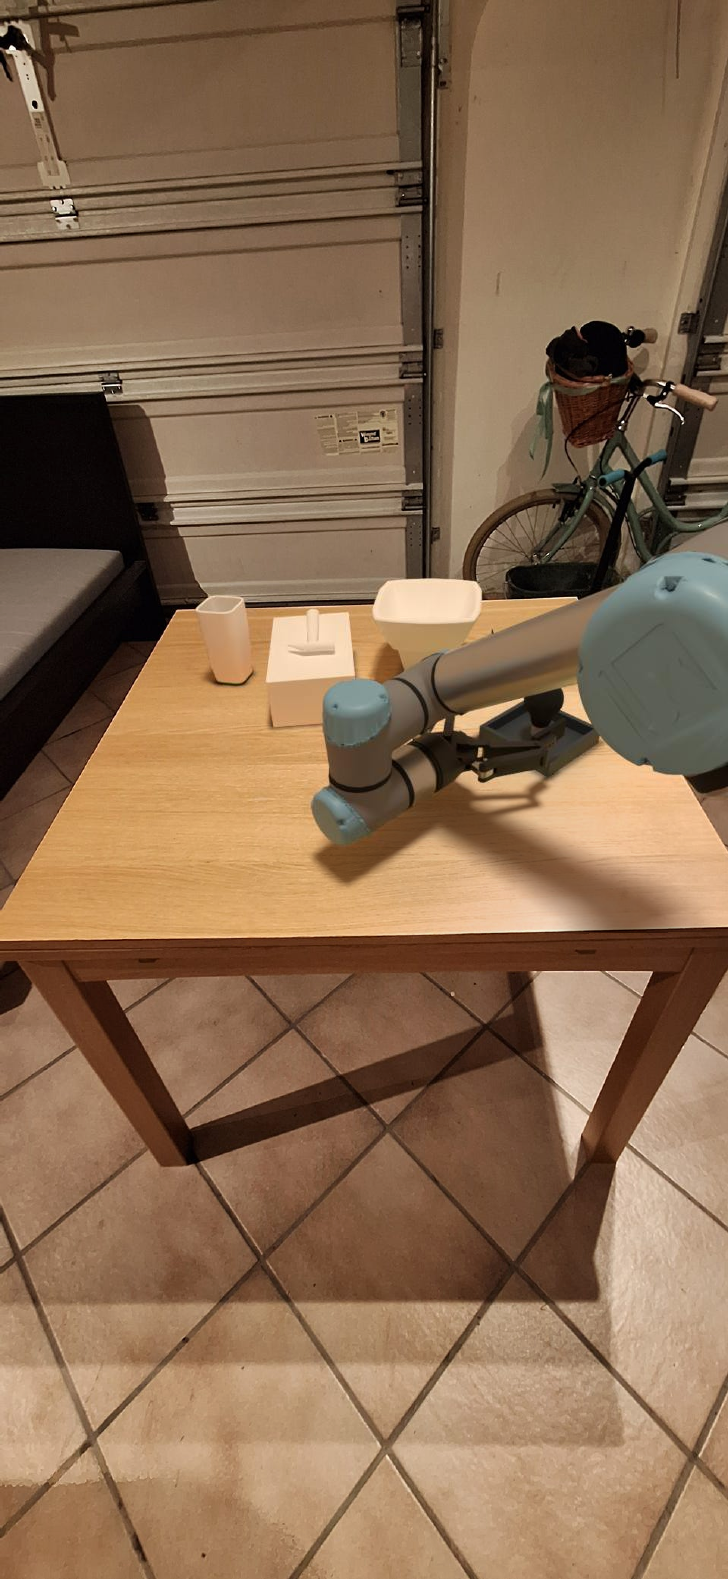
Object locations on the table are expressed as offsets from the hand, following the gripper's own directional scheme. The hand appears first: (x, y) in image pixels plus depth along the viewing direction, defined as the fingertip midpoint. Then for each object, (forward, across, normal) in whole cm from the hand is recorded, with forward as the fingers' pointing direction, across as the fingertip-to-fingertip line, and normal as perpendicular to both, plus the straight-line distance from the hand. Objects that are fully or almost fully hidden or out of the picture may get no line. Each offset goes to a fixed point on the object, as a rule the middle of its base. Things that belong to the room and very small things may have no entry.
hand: (524, 708), depth 93 cm
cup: (-20, -53, -8) cm, 57 cm away
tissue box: (-10, -39, -8) cm, 41 cm away
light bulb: (+5, 0, -8) cm, 9 cm away
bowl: (+8, -29, -8) cm, 31 cm away
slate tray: (+5, 0, -8) cm, 9 cm away
